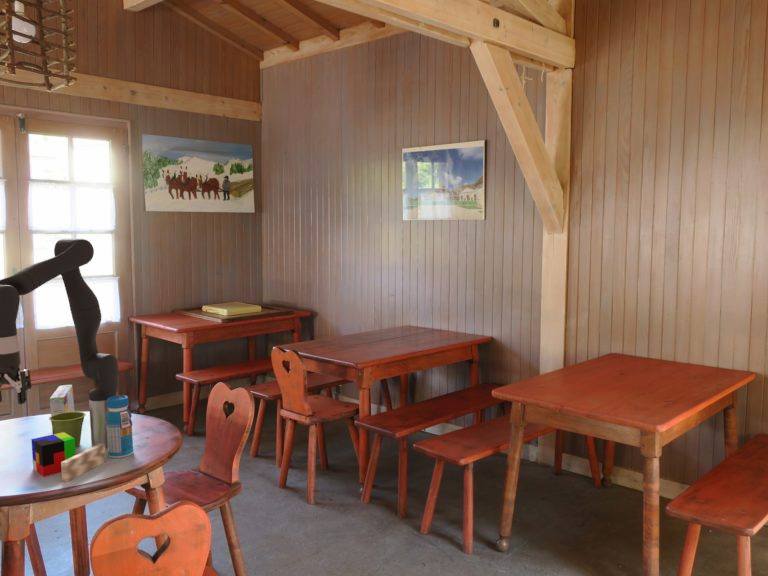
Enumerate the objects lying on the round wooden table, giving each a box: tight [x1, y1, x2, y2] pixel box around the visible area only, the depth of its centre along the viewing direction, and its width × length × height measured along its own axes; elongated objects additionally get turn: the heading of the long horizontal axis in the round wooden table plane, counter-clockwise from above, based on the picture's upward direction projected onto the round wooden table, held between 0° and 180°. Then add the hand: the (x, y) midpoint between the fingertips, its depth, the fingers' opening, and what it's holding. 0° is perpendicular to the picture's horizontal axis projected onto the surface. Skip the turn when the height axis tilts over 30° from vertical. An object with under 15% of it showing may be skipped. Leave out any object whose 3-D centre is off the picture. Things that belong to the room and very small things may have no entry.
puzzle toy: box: [31, 432, 77, 477], centre depth 213 cm, size 10×10×10 cm
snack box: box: [49, 384, 76, 435], centre depth 257 cm, size 21×6×15 cm, turn 17°
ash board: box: [61, 444, 107, 483], centre depth 210 cm, size 18×2×6 cm, turn 166°
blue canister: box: [106, 395, 134, 459], centre depth 225 cm, size 8×8×20 cm
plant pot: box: [48, 411, 86, 449], centre depth 235 cm, size 12×12×11 cm
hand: (10, 403), depth 199 cm, fingers open, 8 cm apart
